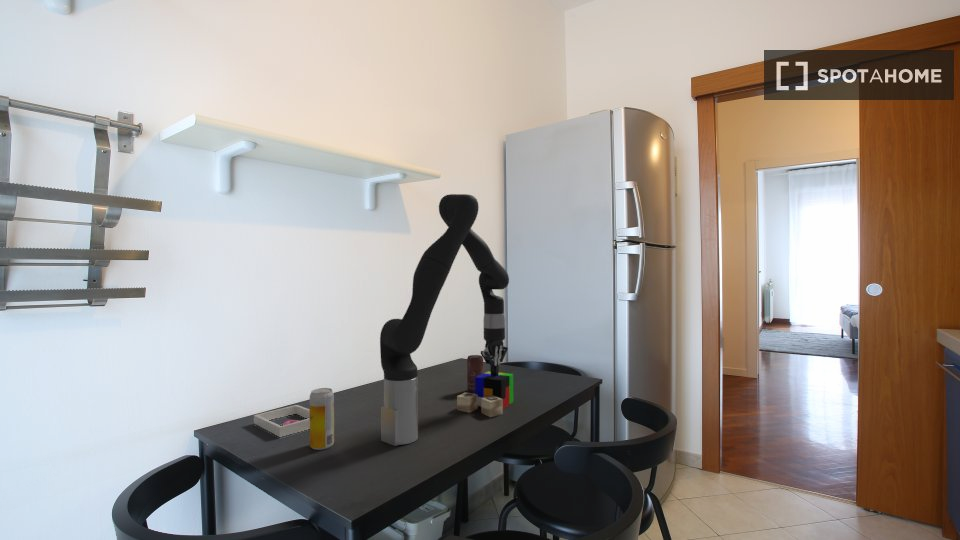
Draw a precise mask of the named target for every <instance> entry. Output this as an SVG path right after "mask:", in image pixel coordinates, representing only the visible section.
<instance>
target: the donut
mask: <svg viewBox="0 0 960 540" xmlns="http://www.w3.org/2000/svg"><path fill="white" fill-rule="evenodd" d="M298 421H300V420H298V419H289V420H286V421H284V422H283V423H282V424H283V425H287V424H290V423H294V422H298Z"/></svg>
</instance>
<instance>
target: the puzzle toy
mask: <svg viewBox="0 0 960 540" xmlns="http://www.w3.org/2000/svg"><path fill="white" fill-rule="evenodd" d="M475 394H477V396H478V407H481V398H485V397H490V396H495V397H498V398H501V399H503V409H505V408H506V407H508V406H509V405H511V404H513V403H514V373H508V372H507V373H506V372H499V373H498V376H492V375H491V371H485V372H483V374H481V375H479V376H477V377H475Z"/></svg>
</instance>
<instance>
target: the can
mask: <svg viewBox="0 0 960 540" xmlns="http://www.w3.org/2000/svg"><path fill="white" fill-rule="evenodd" d="M483 373H484V358H483V357H482V355H481V354H479V355H478V354H471V355H468V356H467V359H466V380H467V381H466V383H467V384H466V385H467V387H466V391H467V393H471V394H475V377H477V376H479V375H481V374H483Z"/></svg>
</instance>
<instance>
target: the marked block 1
mask: <svg viewBox="0 0 960 540" xmlns="http://www.w3.org/2000/svg"><path fill="white" fill-rule="evenodd" d="M478 407H479V406H478V396H477V394H473V393H469V392H463V393H461V394H459V395H457V396H456V410H457V411H458V412H459V411H460V412H465V413H472V412H474V411H476V410H478V409H479V408H478Z"/></svg>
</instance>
